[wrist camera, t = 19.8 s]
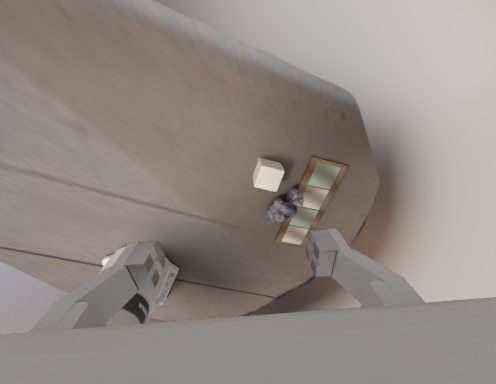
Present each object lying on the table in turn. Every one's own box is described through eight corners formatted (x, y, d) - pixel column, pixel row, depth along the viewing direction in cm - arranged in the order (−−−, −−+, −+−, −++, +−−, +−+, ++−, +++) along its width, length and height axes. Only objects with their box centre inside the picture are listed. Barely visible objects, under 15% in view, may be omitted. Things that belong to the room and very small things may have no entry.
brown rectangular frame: (303, 245, 50) (304, 247, 50) (275, 240, 49) (275, 242, 48) (347, 165, 40) (348, 166, 39) (311, 156, 38) (312, 157, 38)
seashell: (297, 194, 36) (257, 217, 41) (313, 212, 38) (273, 232, 42) (295, 179, 40) (260, 202, 45) (310, 196, 42) (274, 216, 47)
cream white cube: (272, 182, 41) (276, 192, 37) (252, 177, 40) (254, 186, 36) (280, 162, 39) (284, 171, 35) (259, 157, 38) (261, 165, 34)
